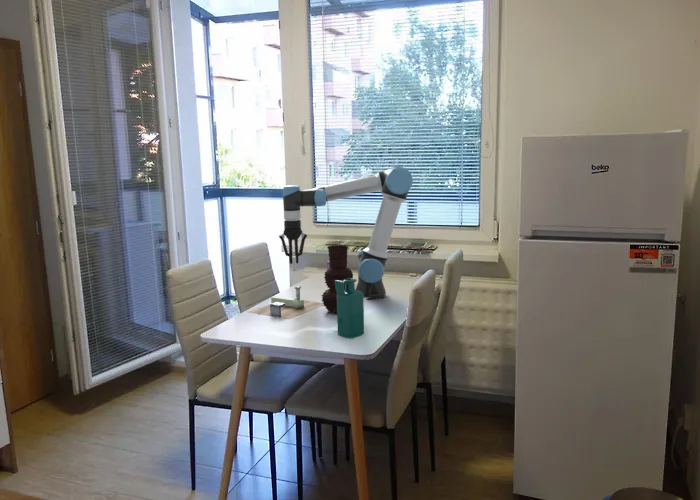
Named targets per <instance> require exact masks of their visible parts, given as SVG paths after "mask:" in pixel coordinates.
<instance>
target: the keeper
mask: <svg viewBox="0 0 700 500" xmlns="http://www.w3.org/2000/svg"><path fill="white" fill-rule="evenodd" d="M284 306H285V303H279V302H274V303H272V304H271V303H270V315H271V316H270V317H273V316H277V317H276V318H279V317H281V307H284Z"/></svg>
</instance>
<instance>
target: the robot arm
mask: <svg viewBox="0 0 700 500" xmlns="http://www.w3.org/2000/svg"><path fill="white" fill-rule="evenodd" d="M413 180H414V179H413V176H412V173H411V172H410V171H409V169H407V168H406V167H404V166H393V167H391V168H388V169H386V170H383V171H378V172H377V173H376V174H374V175H371V176H365V177H360V178H356V179H352V180H347V181H342V182H341V181H340V182H337V183H333V184H328V185H322V186H319V187H312V188H310V189H301V188H300V186H299V185H285V186H283V187H282V200H283V201H282V202H283V219H284V221H283V224H284V226H283V227H284V229H283V232H282V233H281V234H280V235H278V238H279V239H280V240H281V243H282V247H283V251H284V254H285V256H286V257H289V264H290V265H291V269H292V272H297V264H299V256H302V255H303V251H304V246H305V242H306V239H307V237H308V234H306V233H305V232H303V230H302V221H301V207H325V206H326V205H327V203H328V202H331V201H337V200H341V199H346V198H351V197H355V196H361V195H365V194H371V193H374V192H381V194H382V200H381V204H380V206H379V210H378V214H377V217H376V220H375V223H374V226H373V230H372V233H371V236H370V238H369V242H368V246H367V247H366V248H363V249H361V250H359V251H357V273H358V274H357V275H358V276H357V278H358V279H357V285H356V287H355V290H358V291H361V292H362V293H363V297H364V298H366V299H365V300H366V301H367V300H369V301H371V300H374V301H375V300H380V299H384V298H386V296H387V291H386V287H385V286H384V281H383V277H384V274H385V266H386V263H387V261H388V258H389V257H388V255H387V249H388V247H389V243H390V242H391V241H390V240H391V237H392V234H393V230H394V228H395V227H394V226H395V224H396V222H397V221H396V220H397V218H398V215H399V211H400V208H401V206H402V205H401V204H402V203H404V202H405V201H406V200H407V198H408V195H409V191H410V189H411V188H412V186H413V184H414V183H413V182H414V181H413ZM285 237H286V239H287V240H288V249H287V245H286V241H285ZM300 237H301V239H300V244H299V238H300ZM293 242H294V255H293Z"/></svg>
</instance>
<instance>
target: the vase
mask: <svg viewBox="0 0 700 500" xmlns="http://www.w3.org/2000/svg"><path fill="white" fill-rule="evenodd" d="M348 249H349V245H346V244H345V245H344V244H338V245H337V244H335V245H333V244H332V245H329V246H327V251H328V261H329V262H330V263H329V265H330V268H329V269H327V268H326V271H324V277H323V279H324V283H325V284H326V287H327V289H326V290H324V292H322V294H321V302H322V303H323V304H324V305H323V307H325V309H326V310H327V312H329V314H330V313H331V314H334V315H337V292H336V289H335V280H340V281H343V280H344V279H347V278H353V279H354V274H353V272H352V270H351V269H350V268H349V267H348V268H347V263H348ZM344 290H345V284H344Z"/></svg>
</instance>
